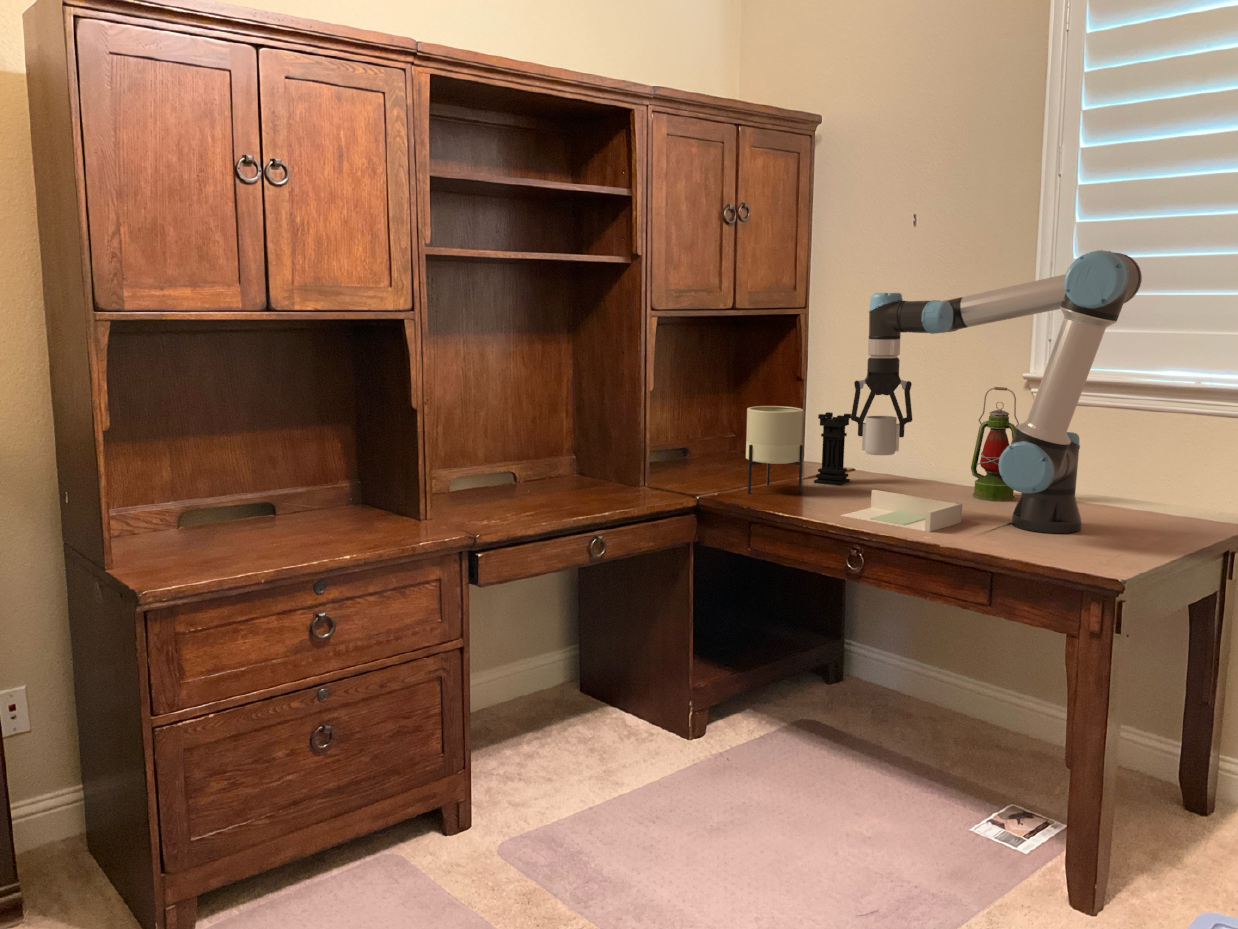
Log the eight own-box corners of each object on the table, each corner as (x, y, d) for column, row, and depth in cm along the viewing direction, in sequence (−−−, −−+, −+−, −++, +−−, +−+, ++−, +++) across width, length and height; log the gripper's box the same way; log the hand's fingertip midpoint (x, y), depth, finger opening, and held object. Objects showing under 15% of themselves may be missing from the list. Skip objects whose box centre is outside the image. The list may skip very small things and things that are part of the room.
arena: (961, 524, 244) (962, 503, 243) (929, 533, 234) (930, 512, 233) (873, 508, 261) (874, 489, 260) (840, 517, 251) (840, 497, 250)
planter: (791, 498, 273) (794, 413, 270) (736, 492, 281) (738, 409, 277) (810, 489, 286) (813, 408, 283) (757, 484, 294) (759, 404, 290)
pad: (929, 518, 248) (929, 516, 248) (903, 525, 240) (903, 524, 240) (896, 512, 255) (896, 511, 254) (870, 519, 246) (870, 518, 246)
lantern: (1027, 498, 276) (1035, 387, 271) (1010, 504, 268) (1018, 390, 264) (977, 491, 286) (984, 384, 281) (960, 496, 278) (967, 386, 273)
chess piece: (849, 481, 300) (852, 413, 296) (840, 485, 293) (843, 416, 290) (824, 478, 304) (826, 412, 300) (813, 482, 297) (816, 414, 294)
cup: (862, 454, 249) (863, 418, 248) (870, 449, 258) (871, 414, 257) (892, 456, 246) (893, 419, 245) (899, 450, 255) (901, 415, 254)
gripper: (925, 356, 250) (921, 449, 253) (841, 355, 254) (838, 446, 258) (927, 357, 243) (923, 453, 246) (841, 357, 247) (838, 450, 251)
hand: (880, 449), depth 252 cm, fingers closed on cup, 7 cm apart
